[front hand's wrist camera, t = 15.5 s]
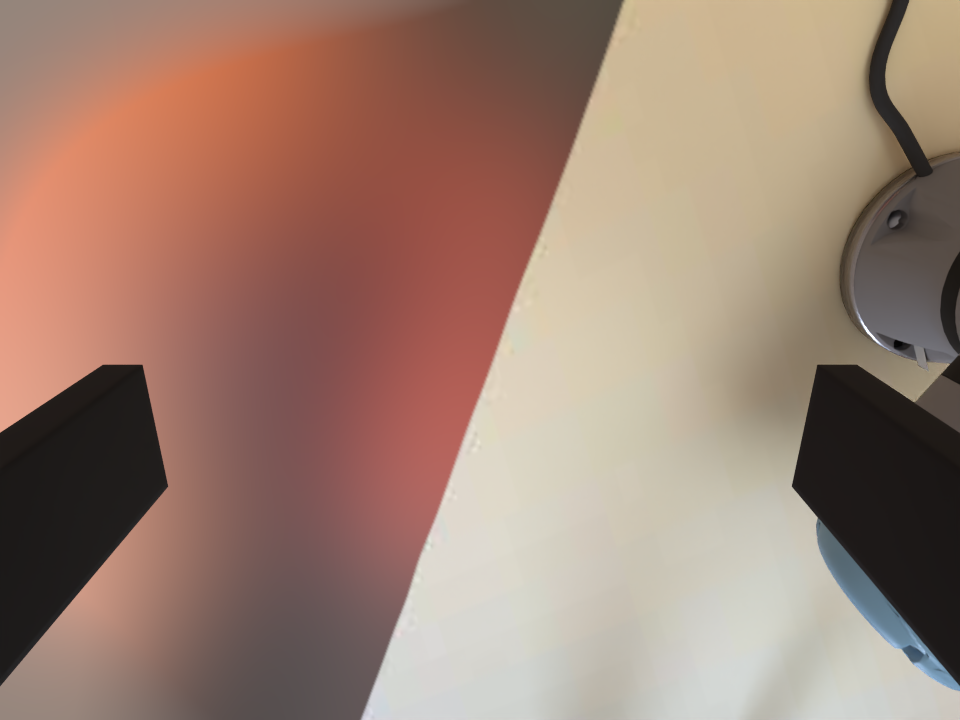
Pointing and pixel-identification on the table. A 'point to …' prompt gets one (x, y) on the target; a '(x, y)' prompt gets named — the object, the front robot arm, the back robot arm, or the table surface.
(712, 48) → the table surface
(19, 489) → the front robot arm
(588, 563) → the table surface
